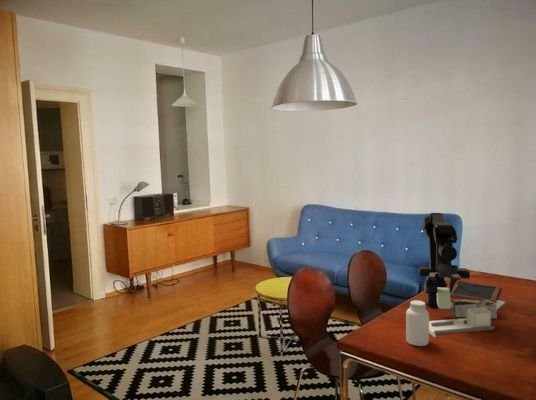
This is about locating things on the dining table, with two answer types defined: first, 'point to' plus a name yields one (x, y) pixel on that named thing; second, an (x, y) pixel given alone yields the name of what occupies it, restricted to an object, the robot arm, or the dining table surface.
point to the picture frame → (475, 291)
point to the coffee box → (461, 307)
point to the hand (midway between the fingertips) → (443, 293)
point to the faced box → (478, 317)
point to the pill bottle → (417, 324)
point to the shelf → (453, 327)
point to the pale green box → (443, 298)
